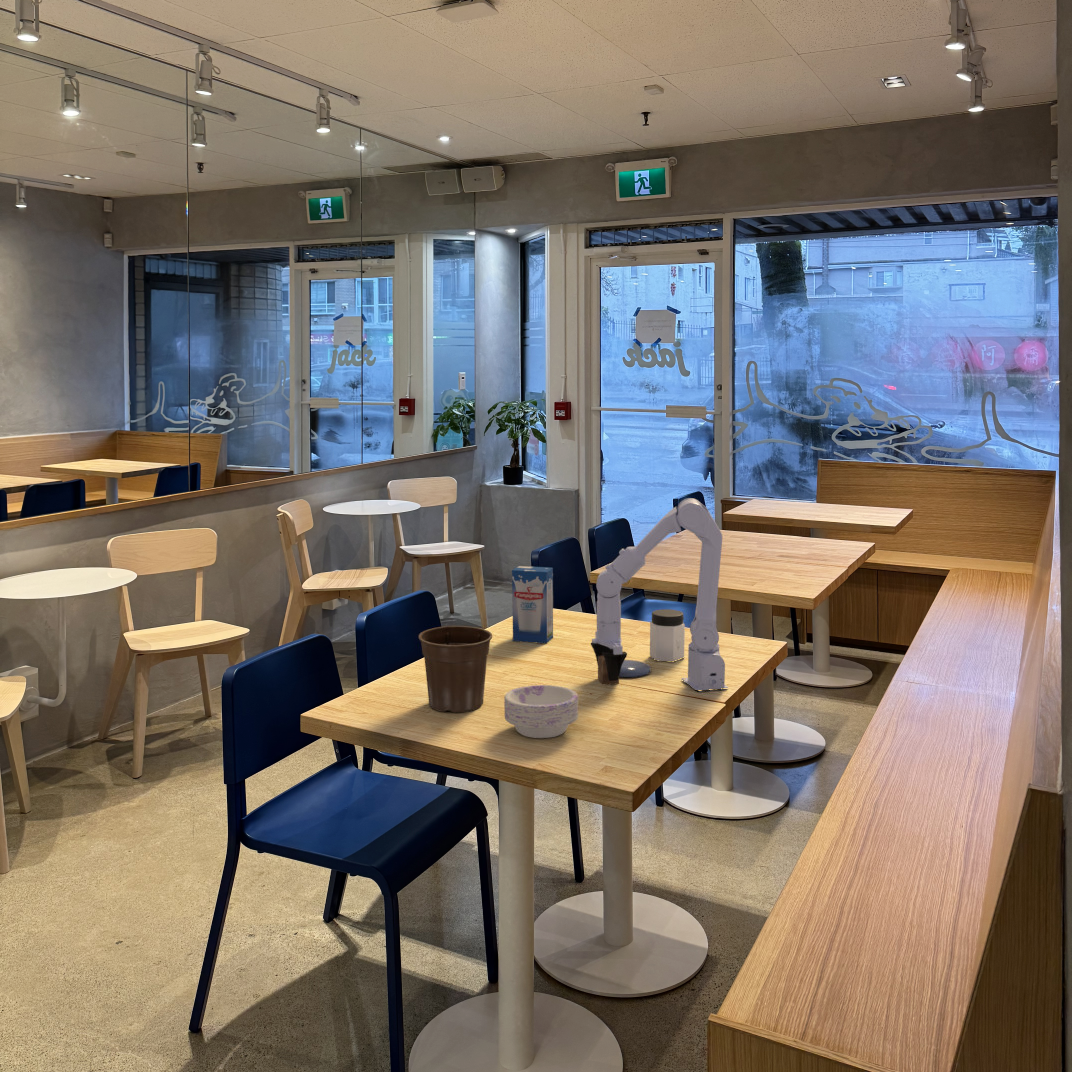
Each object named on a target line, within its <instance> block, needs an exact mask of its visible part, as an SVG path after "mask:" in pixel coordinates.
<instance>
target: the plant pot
mask: <svg viewBox="0 0 1072 1072" xmlns="http://www.w3.org/2000/svg"><path fill="white" fill-rule="evenodd" d="M492 638H493V633H492V632H490V631H489V630H487V629H485V628H480V627H475V626H464V625H447V626H439V627H438V626H437V627H434V628H429V629H426V630H423V631H422V632H420V633H419V634H418V639H419V641H420V644H421V652H422V656H423V657H424V666H425V675H426V677H425V678H426V686H427V695H428V705H429V707H430V708H432V709H433V710H435V711H438V712H443V713H446V712H447V711H450V712H452V713H453V714H456V713H457V714H458V713H467V711H468V712H473V711H475V710H478V709H480V708H481V707H482V705H483V704H484V697H485V696H484V695H485V687H486V686H485V684H486V683H485V682H486V672H487V661H488V660H487V659H488V655H489V653H490V644H491V640H492Z"/></svg>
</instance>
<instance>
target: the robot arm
mask: <svg viewBox="0 0 1072 1072" xmlns="http://www.w3.org/2000/svg"><path fill="white" fill-rule="evenodd" d="M681 527H682V528H683V529H685V530H686V531H689V532H691V533H693V534H694V535H695V536H696V538H698V539H699V540H700V542H701V547H700V563H699V572H698V574H699V575H698V586H697V595H696V596H697V597H696V607H695V614H694V618H693V620H692V621H691V623H690V625H689V633H690V634H691V639H690V640H691V642H690V643H689V644H688V655H687V660H688V661H687V677H682V678H681V681H682V680H683V681H685V682H686V683H687V684H689V685H690V686H691V687H692V688H691V687H690V686H689V685H688V686H689V687H690V688H691V689H693V688H694V689H695V690H709V689H721V688H728V689H729V686H728V685H726V684H725V679H726V678H725V675H726V674H725V673H726V662H725V660H724V659H723V657H722V656H721V654H720V644H719V642H720V641H719V640H720V635H719V632H718V630H717V628H718V627H717V606H718V605H717V603H718V595H719V593H718V592H719V583H720V581H719V579H720V571H721V570H720V569H721V558H722V547H723V533H722V531H721V530H720V527H719V526H718V524H717V523H716V521H715V519H714V518H713V516H712V514H711V513H710V511H709V509H708V508H707V506H705V505H704V504H703V503H701V501H699V500H698V499H696V498H691V497H690V498H689V497H688V498H685V499H682V500H681V501H680V502H679V503H678V505H677V506H675V507H673V508H672V509H670V510H669V511H668V512H667V513H666V514H665V515H664V516H663V517H662V518H661V519H660V520H659V521H658V522H657V523H656V524H655V525H654V526H653V527H652V529H651V530H650V531H649V532H648V533H647V534H646V535H645V536H644V537H643V538H642V539H641V540H640V542H638V544H637V545H636V546H627V547H626V548H621V549H620V550H619V552H618V554H619V555H618V556H617V557H616V558H615V559H614V560H613V561H612V562H611V563H610V564H606V566H604V567H605V569H604V570H603V571H601V572H600V573H599V575H598V577H597V580H596V584H595V585H596V587H595V588H596V590H597V595H596V598H597V601H596V630H595V632H594V633H595V635H594V638H591V643H590V645H591V647H592V648H591V649H592V651H593V652H594V654H595V655H594V656H595V658H596V659H595V660H596V664H597V665H598V656H604V659H605V662H606V666H607V673H608V679H609V681H617V680H618V678H619V679H620V677H619V674H620V670H621V667H622V664H623V662H624V660H626V659H627V657H628V653H627V652H626V651H624V650H623V649H624V648H623V645H622V638H621V634H622V633H621V632H622V631H621V629H622V628H621V626H622V625H621V624H622V623H621V622H622V609H621V608H622V602H621V600H620V598H621V595H620V594H621V591H622V586H623V584H626V583H628V581H630V580H631V579H632V578H633V577H634V576H635V575H636V574H637V573H638V572H639V571H640V570H641V569H642V567H644V566H645V565H646V556H647V555H648V554H649V553H650V552H652V551H653V550H654V549H655V548H656V547H657V546H658V545H659V544H660V543H661V542H662V541H663V540H664V539H665V538H666V537H668V535H670V534H674V533H679V532H682V528H681ZM684 679H685V680H684ZM683 681H682V682H683ZM685 682H684V683H685ZM686 683H685V684H686ZM687 684H686V685H687ZM694 689H693V690H694ZM695 690H694V691H695ZM721 690H722V689H721Z"/></svg>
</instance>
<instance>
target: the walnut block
mask: <svg viewBox="0 0 1072 1072" xmlns="http://www.w3.org/2000/svg"><path fill="white" fill-rule="evenodd" d="M597 681H598V682H600V684H602V685H603V684H606V685H616V684H615V683H618V684H619V683H620V677H619V678H618V680H617V681H609V679H608V673H607V666H606V662H605V659H604V656H598V664H597Z"/></svg>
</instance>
